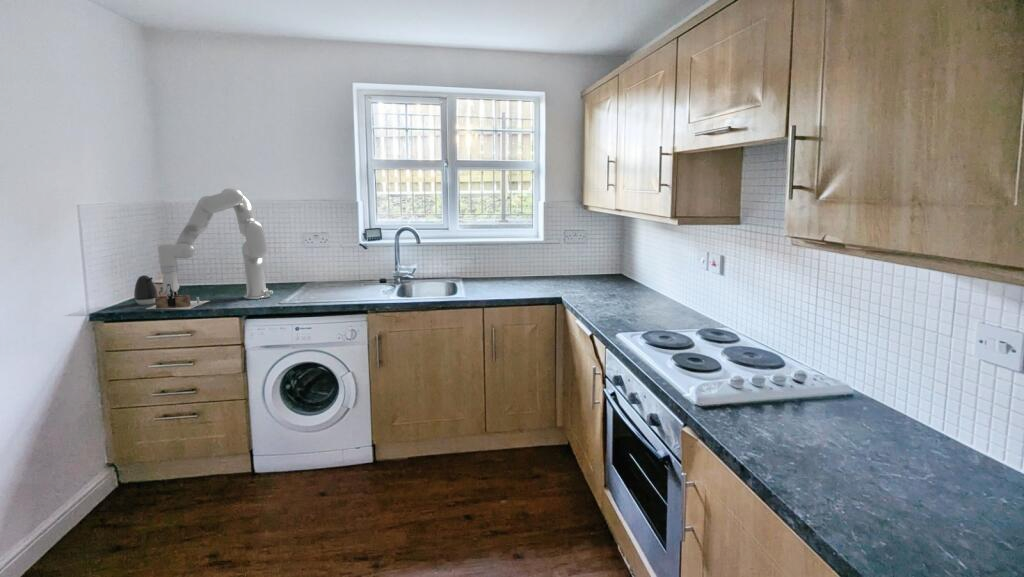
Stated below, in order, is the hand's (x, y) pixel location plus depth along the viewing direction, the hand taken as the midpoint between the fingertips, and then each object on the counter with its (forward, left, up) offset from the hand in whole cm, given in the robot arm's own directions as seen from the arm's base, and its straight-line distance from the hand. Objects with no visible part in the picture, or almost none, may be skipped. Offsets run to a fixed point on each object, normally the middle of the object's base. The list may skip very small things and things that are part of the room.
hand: (173, 304), depth 278 cm
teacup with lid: (+19, -26, -2) cm, 32 cm away
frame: (0, 0, -1) cm, 1 cm away
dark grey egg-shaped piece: (+18, -7, -2) cm, 19 cm away
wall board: (0, -4, -2) cm, 4 cm away
